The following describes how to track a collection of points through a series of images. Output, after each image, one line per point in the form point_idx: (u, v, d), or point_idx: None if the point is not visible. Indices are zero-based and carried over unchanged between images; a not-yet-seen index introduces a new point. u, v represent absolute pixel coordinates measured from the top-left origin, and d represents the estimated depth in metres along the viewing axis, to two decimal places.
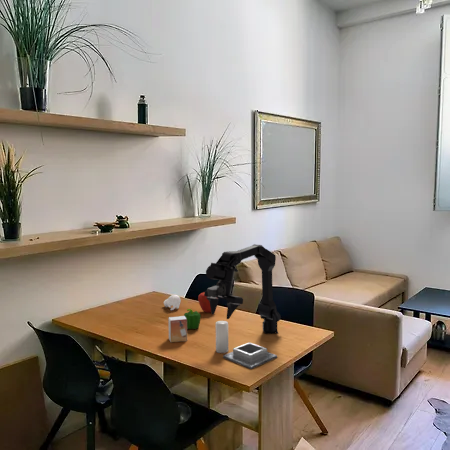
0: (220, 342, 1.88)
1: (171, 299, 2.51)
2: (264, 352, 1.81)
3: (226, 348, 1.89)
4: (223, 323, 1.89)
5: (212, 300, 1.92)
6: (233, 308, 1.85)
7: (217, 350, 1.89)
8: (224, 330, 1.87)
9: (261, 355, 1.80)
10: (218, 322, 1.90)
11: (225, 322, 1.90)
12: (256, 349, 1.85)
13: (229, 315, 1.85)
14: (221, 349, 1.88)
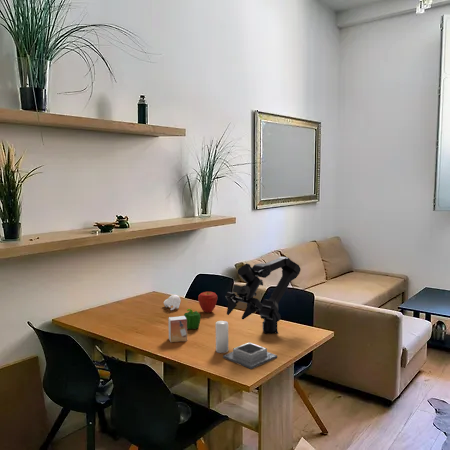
0: (220, 342, 1.88)
1: (171, 299, 2.51)
2: (264, 352, 1.81)
3: (226, 348, 1.89)
4: (223, 323, 1.89)
5: (231, 301, 2.01)
6: (250, 311, 1.94)
7: (217, 350, 1.89)
8: (224, 330, 1.87)
9: (261, 355, 1.80)
10: (218, 322, 1.90)
11: (225, 322, 1.90)
12: (256, 349, 1.85)
13: (245, 316, 1.92)
14: (221, 349, 1.88)
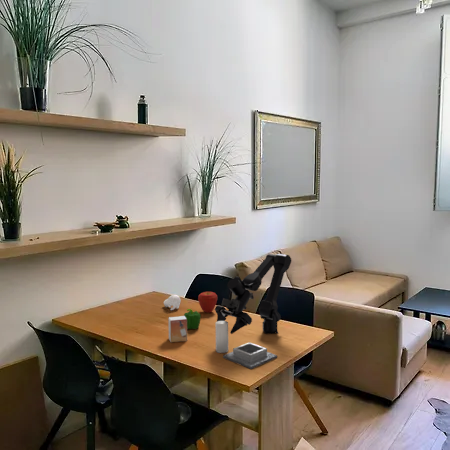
0: (220, 342, 1.88)
1: (171, 299, 2.51)
2: (264, 352, 1.81)
3: (226, 348, 1.89)
4: (223, 323, 1.89)
5: (221, 315, 1.96)
6: (239, 325, 1.89)
7: (217, 350, 1.89)
8: (224, 330, 1.87)
9: (261, 355, 1.80)
10: (218, 322, 1.90)
11: (225, 322, 1.90)
12: (256, 349, 1.85)
13: (234, 330, 1.88)
14: (221, 349, 1.88)
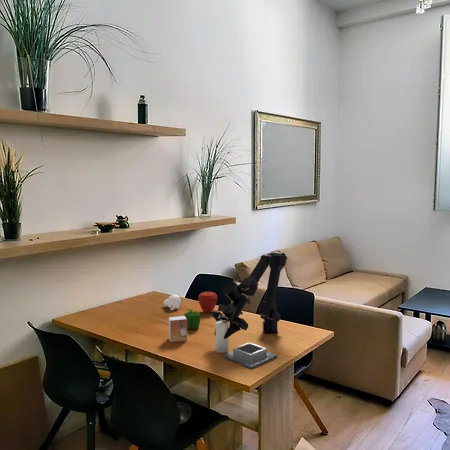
0: (220, 342, 1.88)
1: (171, 299, 2.51)
2: (264, 352, 1.81)
3: (226, 348, 1.89)
4: (223, 323, 1.89)
5: None
6: (233, 330, 1.89)
7: (217, 350, 1.89)
8: (224, 330, 1.87)
9: (261, 355, 1.80)
10: (218, 322, 1.90)
11: (225, 322, 1.90)
12: (256, 349, 1.85)
13: (227, 335, 1.87)
14: (221, 349, 1.88)
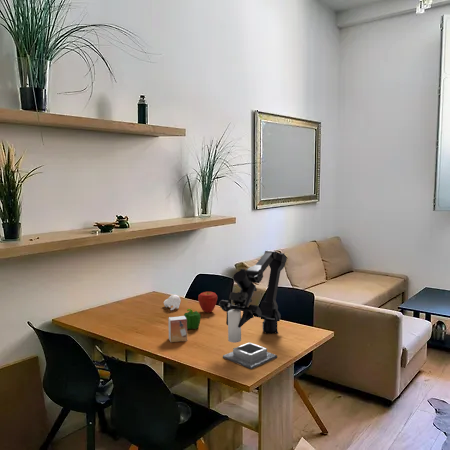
0: (235, 331, 1.82)
1: (171, 299, 2.51)
2: (264, 352, 1.81)
3: (240, 337, 1.84)
4: (236, 311, 1.84)
5: None
6: (246, 318, 1.85)
7: (231, 340, 1.83)
8: (238, 319, 1.82)
9: (261, 355, 1.80)
10: (230, 311, 1.85)
11: (237, 310, 1.85)
12: (256, 349, 1.85)
13: (241, 323, 1.83)
14: (235, 338, 1.83)
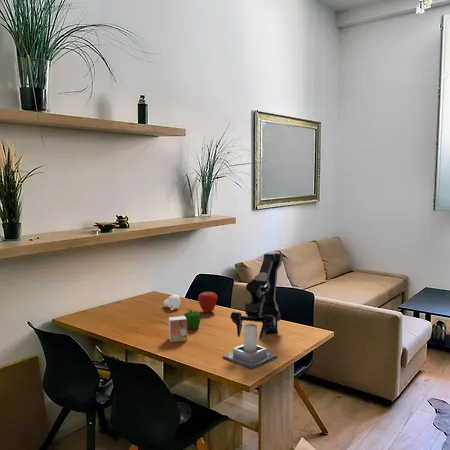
0: (252, 346, 1.80)
1: (171, 299, 2.51)
2: (264, 352, 1.81)
3: None
4: (253, 326, 1.81)
5: (239, 322, 1.85)
6: (265, 329, 1.82)
7: None
8: (255, 334, 1.80)
9: (261, 355, 1.80)
10: (246, 326, 1.82)
11: (253, 325, 1.83)
12: None
13: (262, 335, 1.80)
14: None
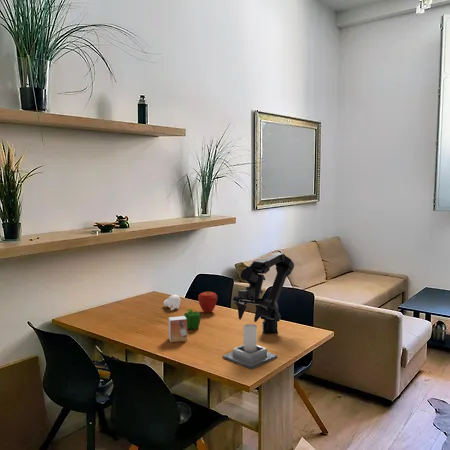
0: (252, 347, 1.80)
1: (171, 299, 2.51)
2: (264, 352, 1.81)
3: None
4: (252, 326, 1.81)
5: (240, 305, 2.00)
6: (261, 312, 1.94)
7: None
8: (255, 334, 1.80)
9: (261, 355, 1.80)
10: (246, 326, 1.81)
11: (252, 325, 1.83)
12: None
13: (257, 318, 1.93)
14: None
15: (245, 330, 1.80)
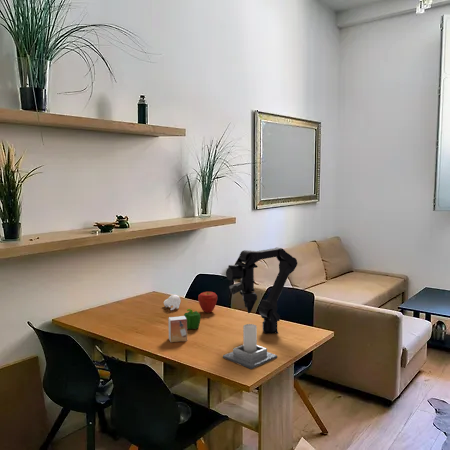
0: (252, 347, 1.80)
1: (171, 299, 2.51)
2: (264, 352, 1.81)
3: None
4: (252, 326, 1.81)
5: None
6: (251, 303, 2.00)
7: None
8: (255, 334, 1.80)
9: (261, 355, 1.80)
10: (246, 326, 1.81)
11: (252, 325, 1.83)
12: None
13: (249, 309, 2.01)
14: None
15: (245, 330, 1.80)
